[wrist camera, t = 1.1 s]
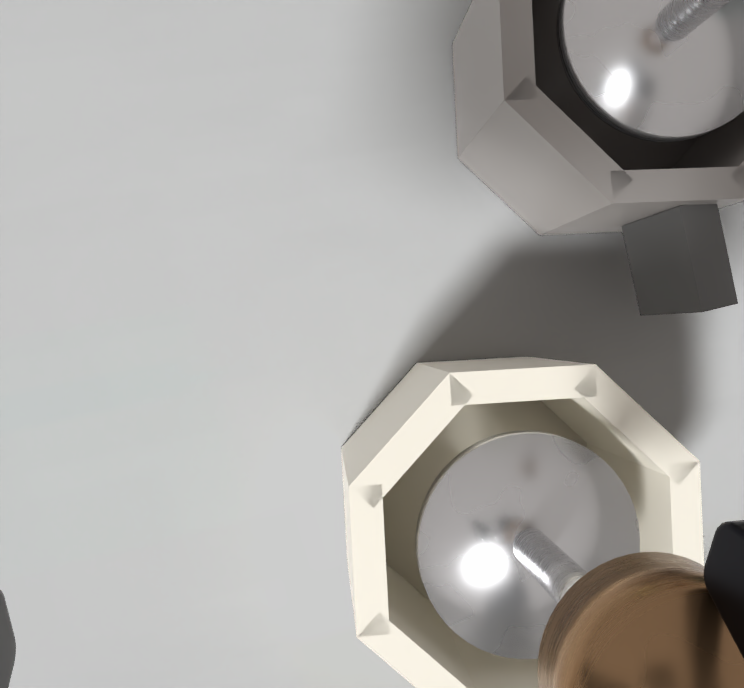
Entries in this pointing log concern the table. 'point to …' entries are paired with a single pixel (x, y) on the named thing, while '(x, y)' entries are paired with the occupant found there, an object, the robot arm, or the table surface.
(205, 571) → the table surface
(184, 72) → the table surface
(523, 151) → the grey octagonal hollow piece
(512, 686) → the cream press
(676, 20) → the coffee tamper
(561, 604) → the brown and grey doorknob
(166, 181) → the table surface
